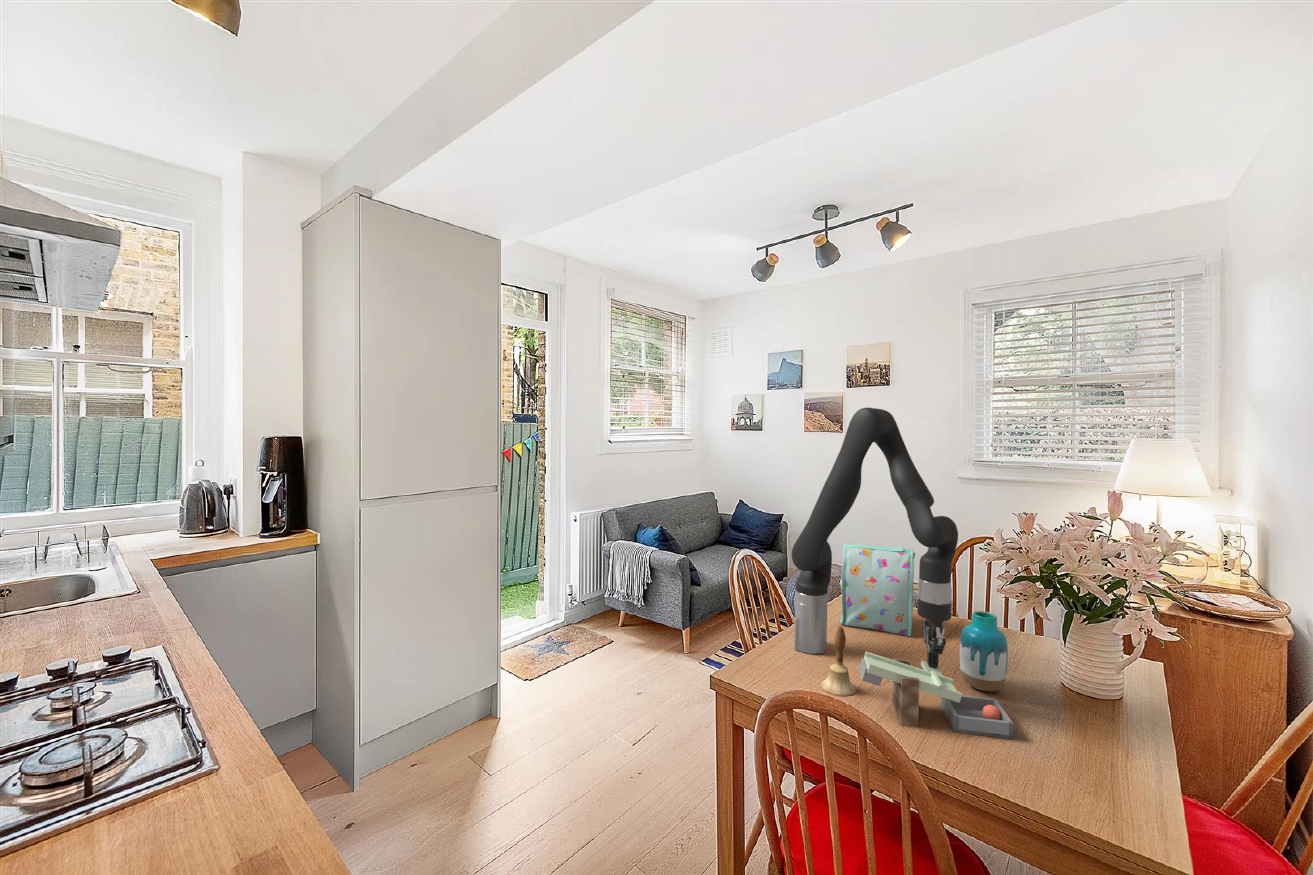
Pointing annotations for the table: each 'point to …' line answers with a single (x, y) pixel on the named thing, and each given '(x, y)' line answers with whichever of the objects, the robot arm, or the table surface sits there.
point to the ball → (991, 712)
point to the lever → (907, 675)
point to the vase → (983, 653)
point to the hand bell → (839, 670)
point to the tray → (976, 717)
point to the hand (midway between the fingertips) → (932, 666)
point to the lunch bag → (878, 588)
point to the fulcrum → (906, 698)
